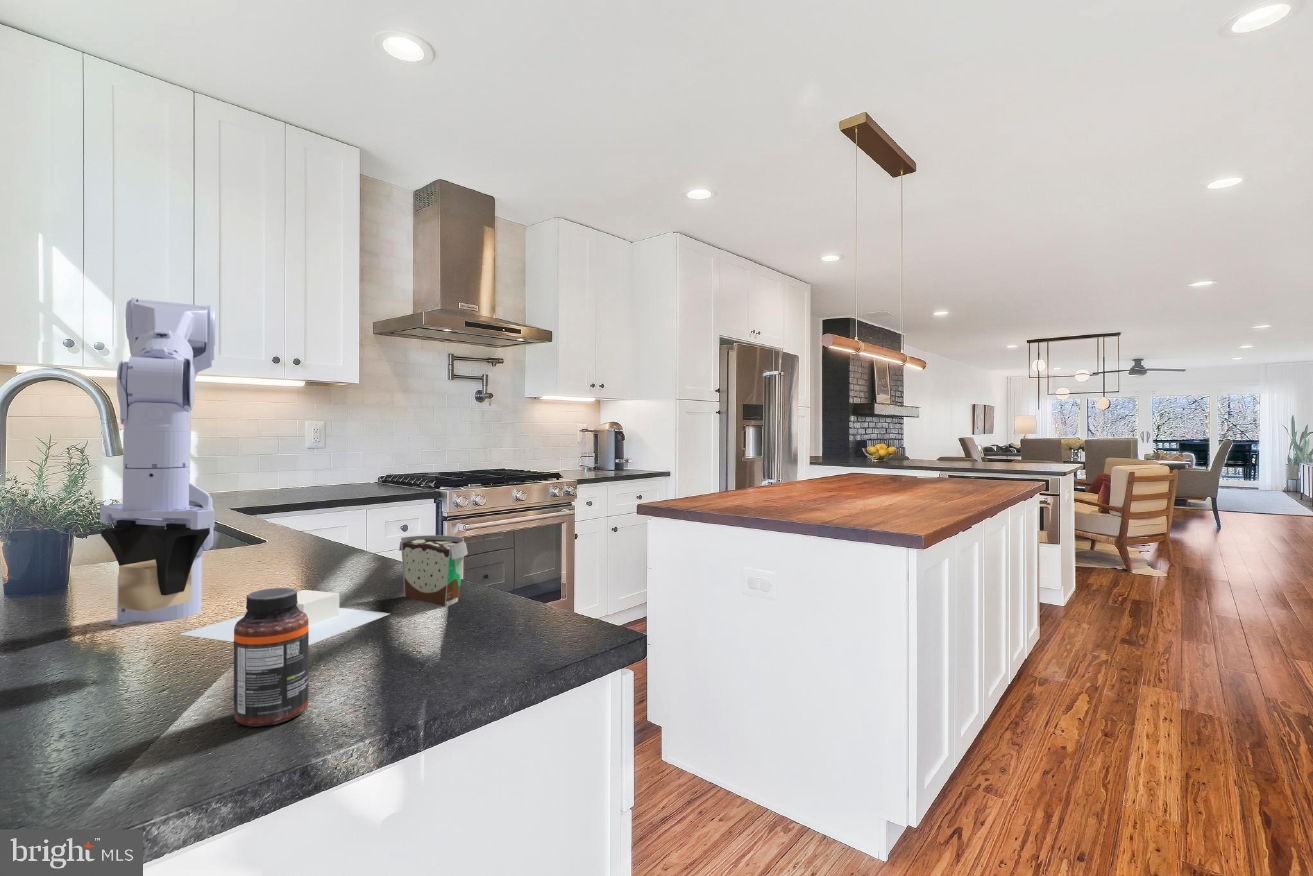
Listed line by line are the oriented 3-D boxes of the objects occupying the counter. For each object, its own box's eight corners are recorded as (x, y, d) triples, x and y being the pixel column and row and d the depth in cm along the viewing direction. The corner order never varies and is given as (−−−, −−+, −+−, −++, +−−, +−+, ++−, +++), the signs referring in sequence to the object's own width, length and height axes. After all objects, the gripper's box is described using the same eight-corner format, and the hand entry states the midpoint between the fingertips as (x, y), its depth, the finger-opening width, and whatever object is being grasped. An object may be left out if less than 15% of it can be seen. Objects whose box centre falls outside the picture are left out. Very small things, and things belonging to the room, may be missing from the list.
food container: (484, 605, 97) (485, 539, 97) (452, 614, 92) (452, 545, 92) (431, 593, 104) (432, 532, 103) (398, 602, 98) (399, 537, 98)
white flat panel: (178, 642, 78) (178, 634, 78) (288, 609, 94) (288, 602, 94) (294, 659, 73) (294, 650, 73) (390, 620, 88) (390, 613, 88)
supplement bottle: (255, 701, 61) (256, 584, 61) (319, 700, 62) (321, 584, 62) (218, 730, 55) (219, 600, 55) (289, 728, 56) (291, 600, 56)
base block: (266, 623, 83) (266, 600, 83) (304, 611, 89) (304, 589, 89) (303, 627, 81) (303, 604, 81) (339, 615, 87) (339, 593, 87)
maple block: (118, 607, 68) (118, 566, 68) (161, 597, 73) (162, 558, 73) (148, 611, 67) (149, 569, 67) (191, 601, 71) (191, 561, 71)
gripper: (68, 467, 68) (67, 594, 68) (167, 471, 64) (166, 606, 64) (139, 464, 75) (138, 580, 75) (233, 467, 71) (232, 590, 71)
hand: (155, 591), depth 70 cm, fingers closed on maple block, 4 cm apart
